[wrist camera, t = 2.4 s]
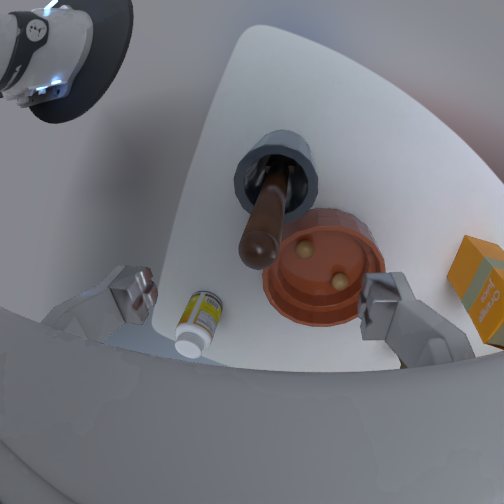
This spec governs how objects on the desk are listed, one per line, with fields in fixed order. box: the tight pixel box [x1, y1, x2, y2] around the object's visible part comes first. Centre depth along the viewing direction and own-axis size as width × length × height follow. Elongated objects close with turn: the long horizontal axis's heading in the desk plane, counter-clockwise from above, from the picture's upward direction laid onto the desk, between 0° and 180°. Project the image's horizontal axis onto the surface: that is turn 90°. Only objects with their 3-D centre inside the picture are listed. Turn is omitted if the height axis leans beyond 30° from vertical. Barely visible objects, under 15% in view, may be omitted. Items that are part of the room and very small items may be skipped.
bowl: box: [262, 209, 386, 327], centre depth 34 cm, size 15×15×6 cm
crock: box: [234, 130, 318, 224], centre depth 25 cm, size 6×6×12 cm
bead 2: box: [331, 273, 349, 290], centre depth 36 cm, size 2×2×2 cm
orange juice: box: [447, 235, 504, 350], centre depth 23 cm, size 8×9×20 cm
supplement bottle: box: [175, 292, 222, 358], centre depth 40 cm, size 6×6×10 cm
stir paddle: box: [239, 154, 295, 270], centre depth 20 cm, size 3×2×22 cm, turn 95°
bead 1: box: [296, 240, 315, 259], centre depth 34 cm, size 2×2×2 cm
